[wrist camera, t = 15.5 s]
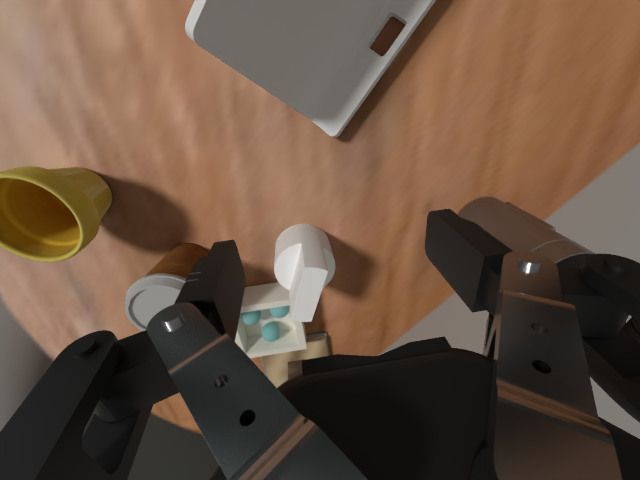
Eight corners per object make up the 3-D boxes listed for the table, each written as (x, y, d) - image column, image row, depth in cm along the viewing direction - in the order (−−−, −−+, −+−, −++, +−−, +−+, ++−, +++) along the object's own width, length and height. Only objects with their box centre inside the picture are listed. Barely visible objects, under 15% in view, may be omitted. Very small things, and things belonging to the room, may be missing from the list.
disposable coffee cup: (230, 247, 45) (214, 296, 35) (210, 290, 49) (190, 347, 38) (167, 224, 42) (129, 271, 32) (151, 272, 46) (113, 328, 35)
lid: (325, 335, 57) (329, 361, 51) (330, 376, 63) (334, 402, 58) (259, 345, 56) (257, 373, 51) (272, 385, 63) (271, 413, 57)
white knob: (322, 274, 50) (332, 325, 39) (270, 266, 48) (267, 318, 37) (336, 229, 46) (351, 273, 35) (281, 218, 44) (280, 262, 33)
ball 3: (287, 292, 50) (287, 305, 47) (290, 307, 51) (291, 320, 48) (268, 295, 49) (267, 309, 47) (271, 309, 51) (271, 324, 48)
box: (296, 279, 50) (297, 298, 45) (305, 328, 56) (307, 348, 51) (227, 289, 49) (221, 310, 45) (243, 337, 55) (240, 359, 51)
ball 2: (278, 316, 52) (278, 331, 49) (281, 329, 54) (281, 344, 51) (260, 319, 52) (258, 334, 49) (264, 332, 54) (262, 347, 51)
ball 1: (259, 299, 50) (258, 312, 47) (263, 313, 51) (262, 327, 48) (240, 302, 49) (237, 316, 47) (244, 316, 51) (242, 330, 48)
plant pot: (39, 211, 39) (-29, 247, 31) (39, 139, 35) (-39, 157, 27) (122, 234, 42) (81, 273, 34) (131, 170, 38) (87, 196, 30)
